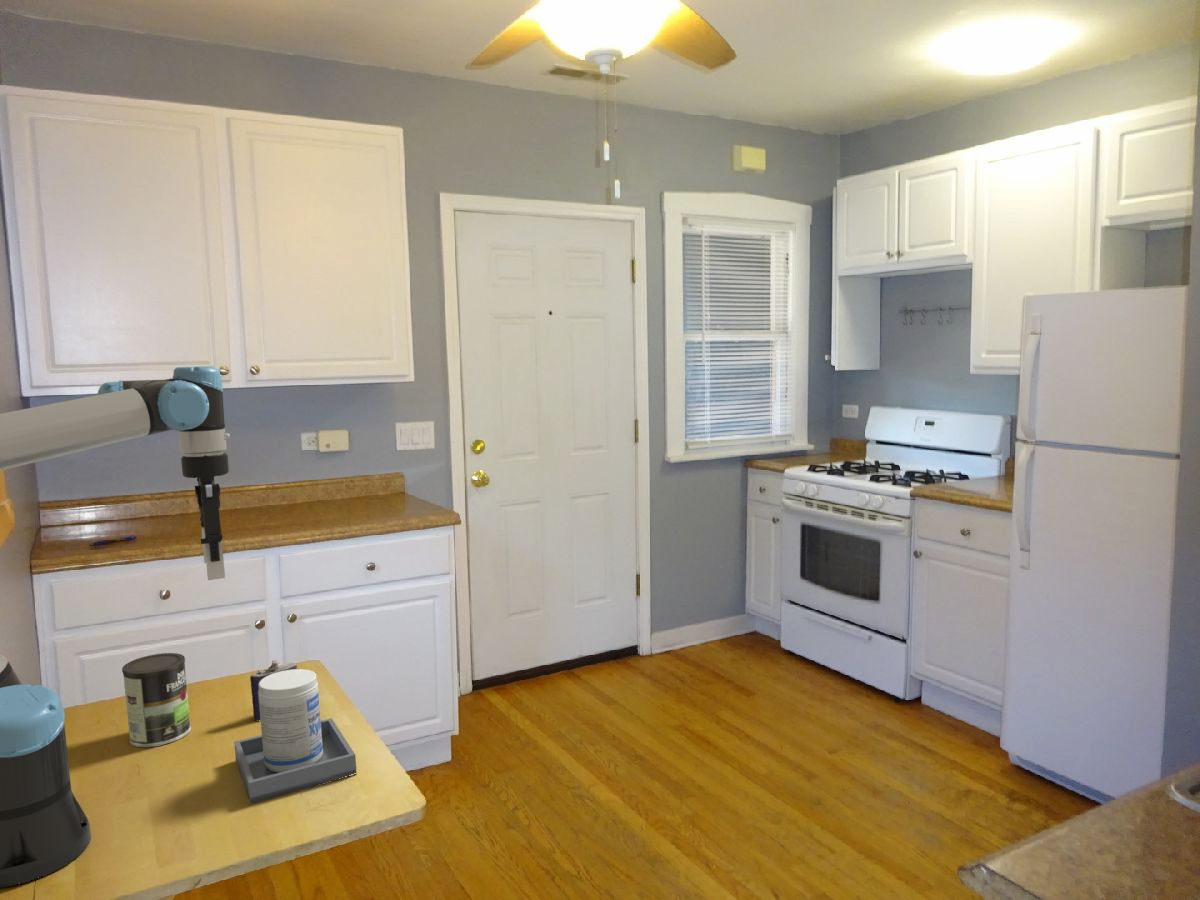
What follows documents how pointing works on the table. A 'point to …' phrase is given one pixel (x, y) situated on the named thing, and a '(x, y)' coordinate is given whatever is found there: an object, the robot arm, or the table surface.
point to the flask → (259, 676)
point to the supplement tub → (290, 719)
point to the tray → (271, 784)
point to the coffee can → (156, 699)
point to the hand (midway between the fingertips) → (214, 570)
